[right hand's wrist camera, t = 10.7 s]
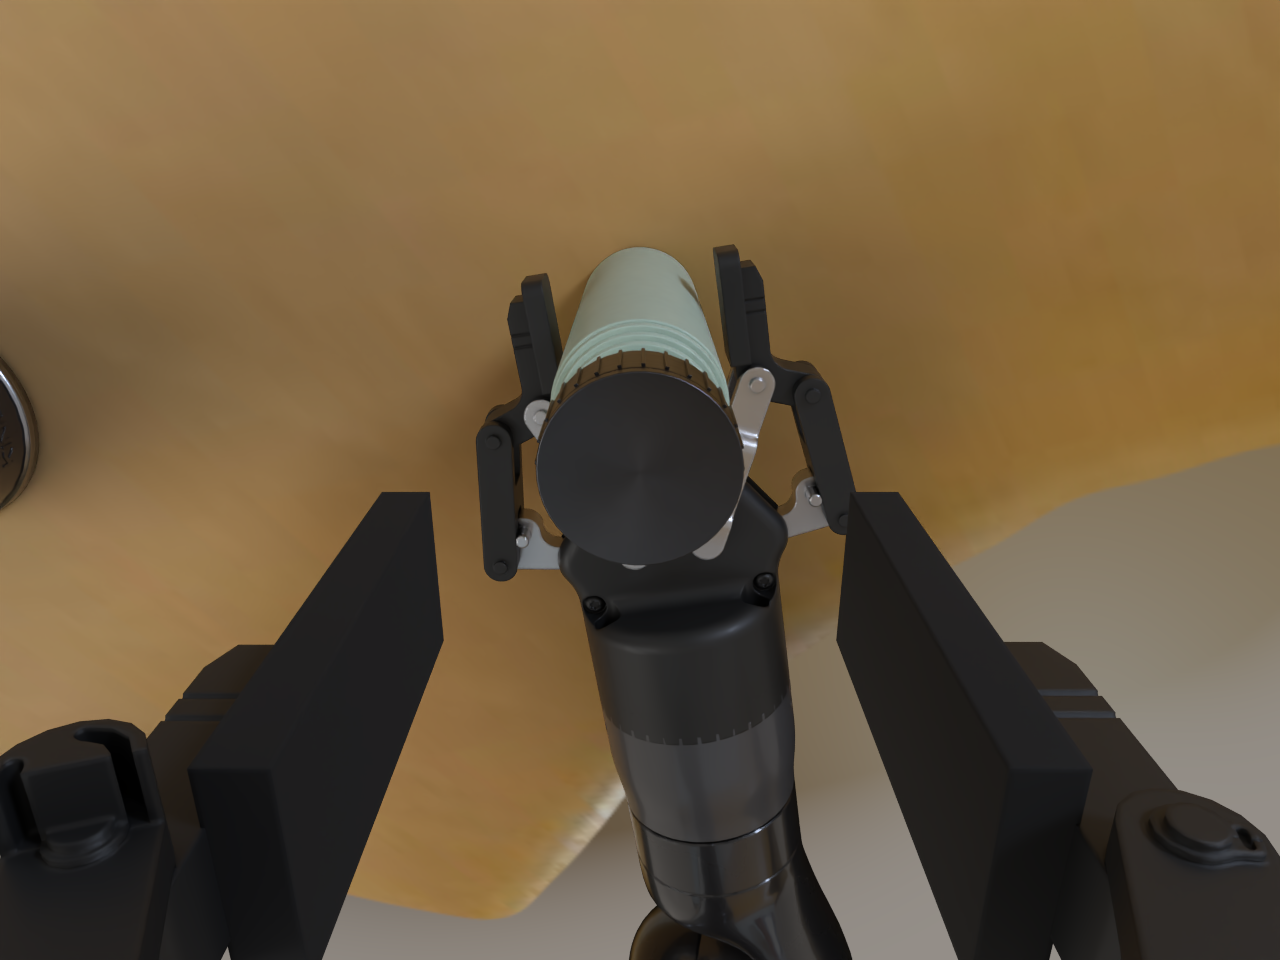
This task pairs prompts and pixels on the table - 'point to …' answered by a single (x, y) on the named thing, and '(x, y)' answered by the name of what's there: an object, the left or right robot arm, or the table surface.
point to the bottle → (640, 315)
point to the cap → (639, 458)
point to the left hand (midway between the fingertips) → (628, 265)
